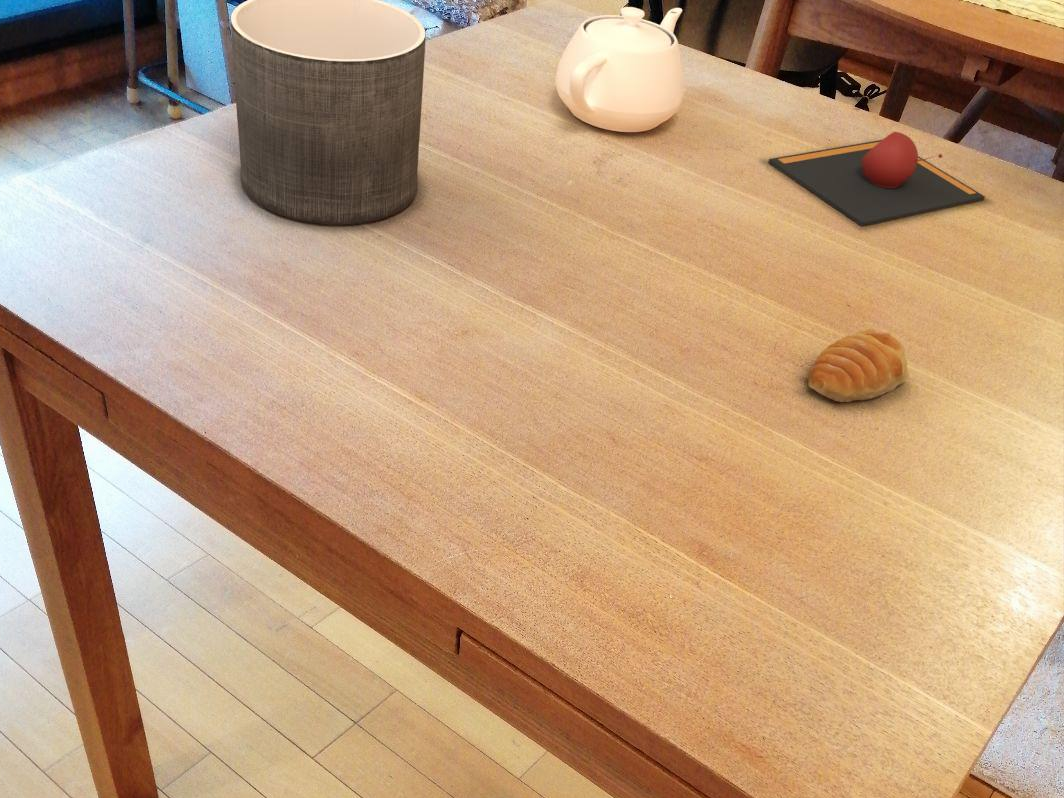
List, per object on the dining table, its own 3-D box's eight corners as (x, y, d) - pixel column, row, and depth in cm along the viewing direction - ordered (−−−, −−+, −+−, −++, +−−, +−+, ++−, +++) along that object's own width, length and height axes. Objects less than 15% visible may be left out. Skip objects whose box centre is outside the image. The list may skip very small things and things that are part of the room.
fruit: (877, 208, 126) (931, 163, 120) (847, 169, 126) (900, 122, 120) (899, 193, 130) (952, 149, 124) (870, 155, 130) (922, 109, 124)
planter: (323, 131, 120) (322, -22, 110) (451, 187, 114) (463, 31, 104) (202, 180, 109) (188, 15, 98) (338, 246, 103) (338, 77, 92)
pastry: (846, 420, 92) (861, 382, 90) (785, 380, 96) (797, 343, 93) (909, 385, 97) (924, 349, 95) (848, 348, 101) (861, 312, 98)
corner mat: (887, 142, 137) (889, 138, 137) (983, 200, 128) (985, 196, 127) (767, 162, 128) (769, 158, 128) (861, 226, 119) (863, 222, 119)
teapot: (623, 165, 123) (644, 54, 115) (509, 121, 128) (521, 12, 120) (717, 104, 139) (741, 3, 131) (613, 67, 144) (630, -32, 136)
